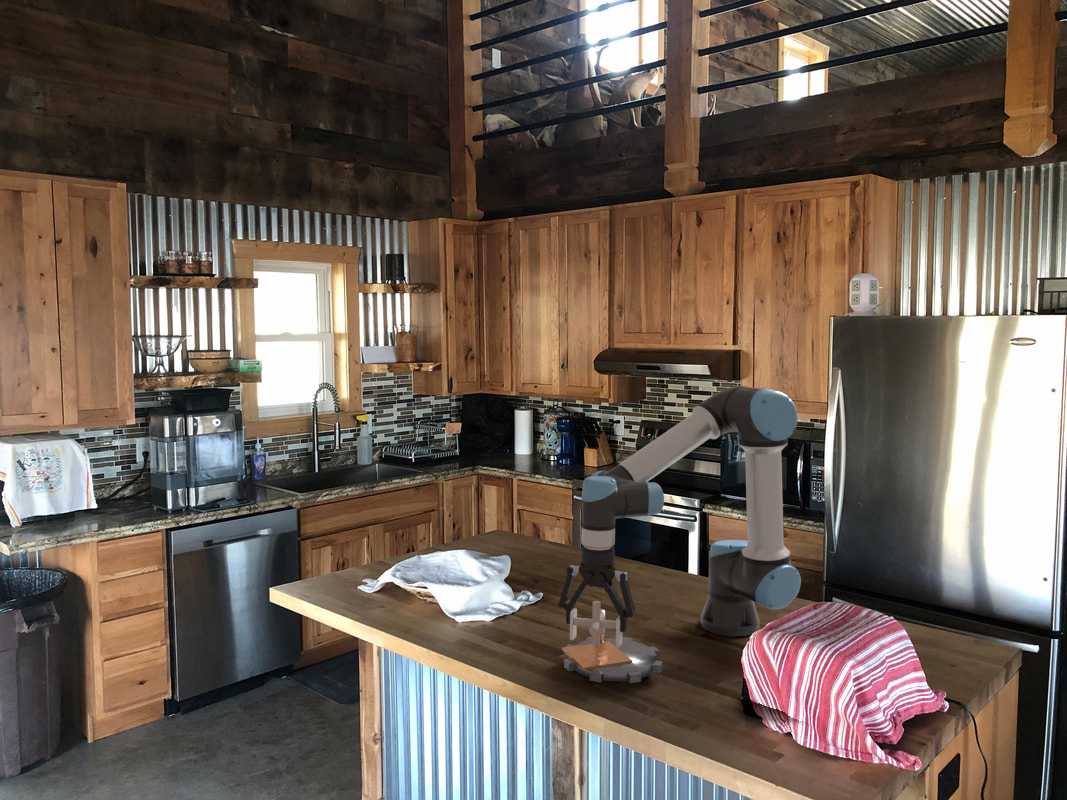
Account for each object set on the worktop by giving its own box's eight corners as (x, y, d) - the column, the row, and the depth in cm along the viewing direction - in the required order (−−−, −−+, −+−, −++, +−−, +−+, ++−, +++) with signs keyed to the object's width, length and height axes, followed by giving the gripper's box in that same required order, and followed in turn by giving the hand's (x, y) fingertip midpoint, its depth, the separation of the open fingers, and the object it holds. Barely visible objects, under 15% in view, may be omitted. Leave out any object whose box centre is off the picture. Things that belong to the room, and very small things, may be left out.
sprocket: (633, 638, 211) (634, 599, 210) (681, 675, 189) (683, 632, 188) (547, 650, 203) (548, 609, 202) (587, 690, 181) (588, 645, 180)
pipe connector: (615, 655, 188) (616, 611, 187) (570, 651, 190) (571, 607, 189) (619, 638, 197) (620, 596, 196) (577, 634, 199) (578, 593, 198)
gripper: (651, 547, 191) (648, 643, 193) (555, 536, 199) (554, 628, 201) (643, 555, 184) (640, 655, 186) (544, 544, 192) (543, 639, 194)
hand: (595, 641), depth 193 cm, fingers closed on pipe connector, 10 cm apart
